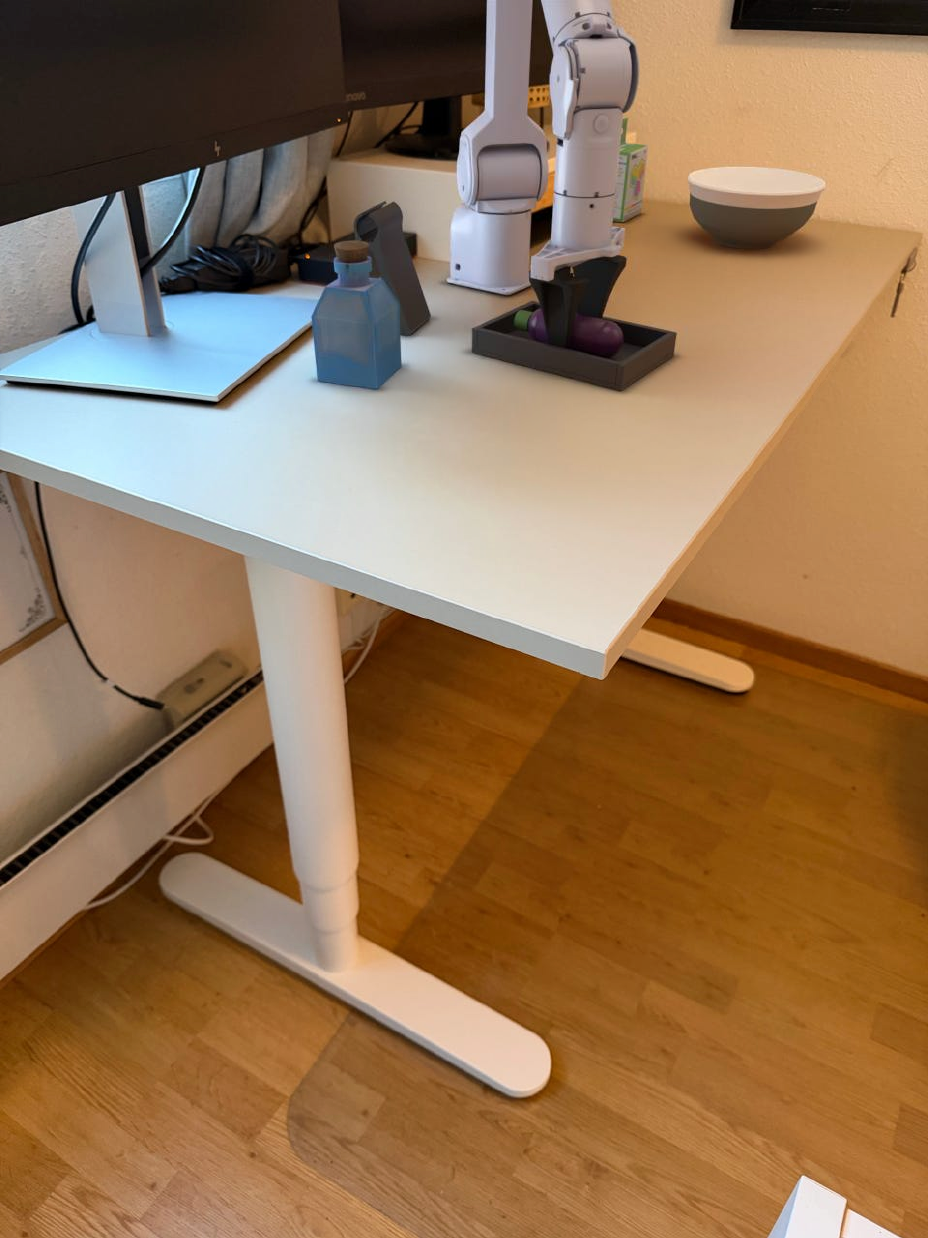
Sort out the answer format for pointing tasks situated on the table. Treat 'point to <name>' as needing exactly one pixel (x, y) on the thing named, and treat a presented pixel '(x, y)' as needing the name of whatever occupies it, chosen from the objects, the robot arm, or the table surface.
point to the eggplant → (577, 333)
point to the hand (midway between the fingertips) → (573, 336)
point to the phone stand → (393, 262)
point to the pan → (617, 372)
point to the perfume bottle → (356, 323)
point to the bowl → (752, 203)
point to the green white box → (629, 178)
